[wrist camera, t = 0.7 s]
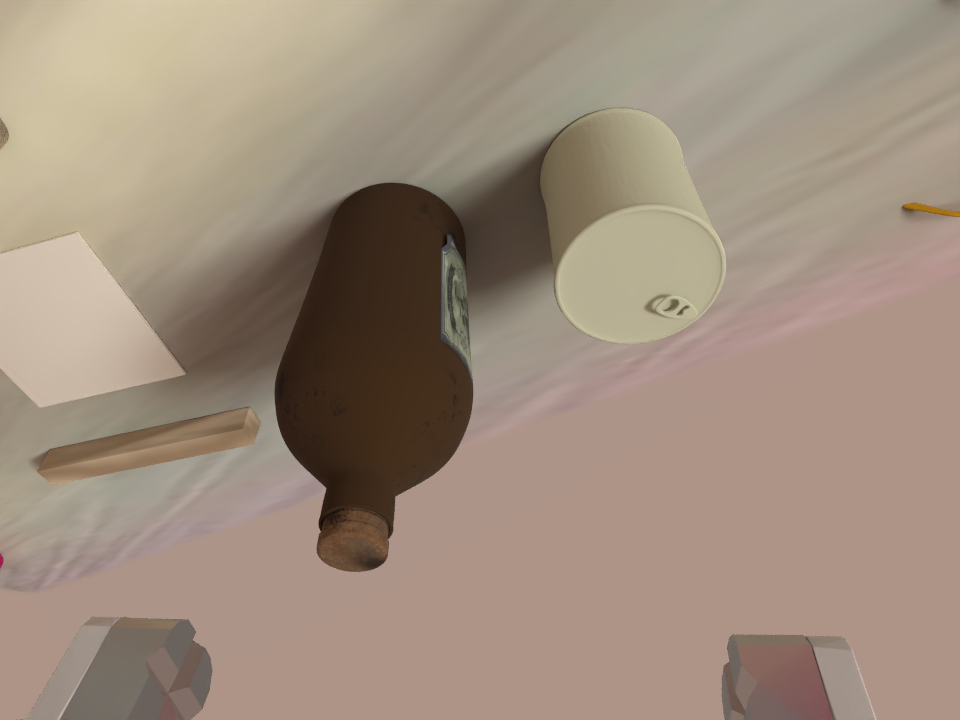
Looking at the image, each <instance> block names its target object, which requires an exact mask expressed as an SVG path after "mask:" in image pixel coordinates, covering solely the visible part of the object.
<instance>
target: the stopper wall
mask: <svg viewBox="0 0 960 720" xmlns="http://www.w3.org/2000/svg"><path fill="white" fill-rule="evenodd" d="M260 423H261V422H260V421H259V419H258V418H257V416H256V415H255V414H254V412H253V411H252V410H251V408H250V407H247V408H242V409H238V410H233V411H228V412H223V413H219V414H214V415H209V416H205V417H200V418H195V419H191V420H186V421H181V422H177V423H172V424H167V425H163V426H158V427H153V428H148V429H144V430H139V431H134V432H130V433H125V434H120V435H116V436H111V437H106V438H102V439H97V440H92V441H88V442H83V443H78V444H73V445H69V446H64V447H59V448H55V449H50V450H49V452H48V453H47V455H46V457H45V459H44V460H43V462H42V464H41V466H40V467H39V469H38V471H37V472H38V473H39V474H41V475H42V476H43V477H44V478H45V479H46V480H47V481H48V482H49V483H50V484H52V485H55V484H60V483H65V482H70V481H75V480H80V479H85V478H90V477H95V476H99V475H104V474H109V473H114V472H119V471H124V470H129V469H134V468H139V467H144V466H149V465H154V464H159V463H164V462H169V461H174V460H178V459H183V458H188V457H193V456H198V455H203V454H208V453H213V452H218V451H223V450H228V449H233V448H238V447H243V446H248V445H253V444H254V443H255V440H256V436H257V433H258V430H259V426H260Z"/></svg>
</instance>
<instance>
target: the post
mask: <svg viewBox="0 0 960 720" xmlns="http://www.w3.org/2000/svg"><path fill="white" fill-rule="evenodd" d="M8 138H9V134H8V130H7V127H6V126H5V124H4V123H3V121H2V120H1V119H0V149H1V148H2V147H3V146H4V145H5V144H6V143H7V141H8Z"/></svg>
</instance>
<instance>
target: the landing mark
mask: <svg viewBox="0 0 960 720" xmlns="http://www.w3.org/2000/svg"><path fill="white" fill-rule="evenodd" d="M0 369H1V370H2V371H3V372H4V373H5V374H6V375H7V376H8V377H9V378H10V379H11V380H12V381H13V382H14V383H15V384H16V385H17V386H18V387H19V388H20V389H21V390H22V391H23V392H24V393H25V394H26V395H27V396H28V397H29V398H30V399H31V400H32V401H33V402H34V403H35V404H36V405H37V406H38V407H39V408H41V407H46V406H50V405H55V404H59V403H64V402H68V401H72V400H77V399H81V398H86V397H90V396H94V395H99V394H103V393H108V392H112V391H117V390H121V389H125V388H130V387H134V386H139V385H143V384H147V383H152V382H156V381H161V380H165V379H170V378H174V377H178V376H183V375H186V374H187V373H186V371H185V370H184V369H183V368H182V366H181V365H180V364H179V362H178V361H177V360H176V358H175V357H174V356H173V355H172V353H171V352H170V351H169V349H168V348H167V347H166V346H165V344H164V343H163V342H162V340H161V339H160V338H159V336H158V335H157V334H156V333H155V331H154V330H153V329H152V327H151V326H150V325H149V324H148V322H147V321H146V320H145V318H144V317H143V316H142V314H141V313H140V312H139V311H138V309H137V308H136V307H135V305H134V304H133V303H132V302H131V300H130V299H129V298H128V296H127V295H126V294H125V292H124V291H123V290H122V289H121V287H120V286H119V285H118V283H117V282H116V281H115V279H114V278H113V277H112V276H111V274H110V273H109V272H108V270H107V269H106V268H105V267H104V265H103V264H102V263H101V261H100V260H99V259H98V257H97V256H96V255H95V254H94V252H93V251H92V250H91V248H90V247H89V246H88V245H87V243H86V242H85V241H84V239H83V238H82V237H81V235H80V234H79V233H78V232H74V233H70V234H67V235H63V236H60V237H56V238H52V239H49V240H45V241H41V242H38V243H34V244H31V245H27V246H23V247H20V248H16V249H13V250H9V251H5V252H2V253H0Z"/></svg>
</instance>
